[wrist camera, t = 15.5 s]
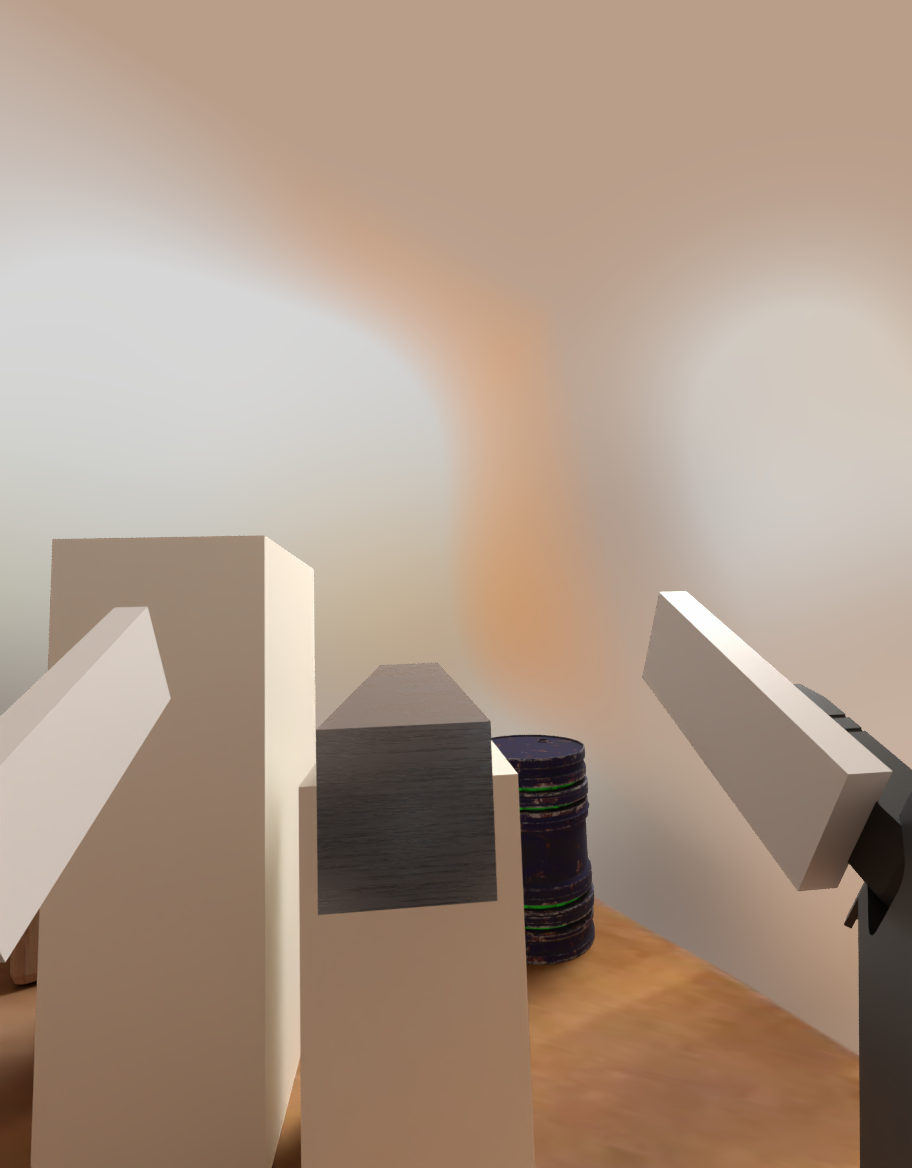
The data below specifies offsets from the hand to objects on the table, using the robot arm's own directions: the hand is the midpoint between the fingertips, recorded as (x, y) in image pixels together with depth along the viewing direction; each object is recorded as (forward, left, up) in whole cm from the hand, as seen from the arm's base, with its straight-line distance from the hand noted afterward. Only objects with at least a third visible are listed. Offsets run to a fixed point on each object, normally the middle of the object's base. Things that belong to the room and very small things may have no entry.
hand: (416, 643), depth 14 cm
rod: (0, +8, -5) cm, 9 cm away
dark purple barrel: (+10, +32, -25) cm, 42 cm away
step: (0, +12, -25) cm, 27 cm away
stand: (-12, +20, -25) cm, 34 cm away
